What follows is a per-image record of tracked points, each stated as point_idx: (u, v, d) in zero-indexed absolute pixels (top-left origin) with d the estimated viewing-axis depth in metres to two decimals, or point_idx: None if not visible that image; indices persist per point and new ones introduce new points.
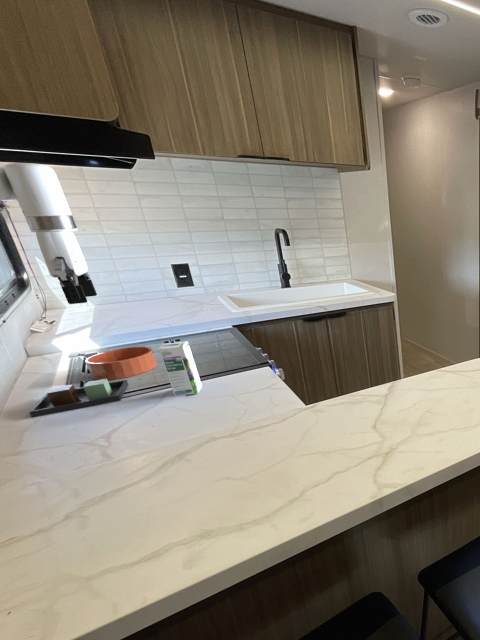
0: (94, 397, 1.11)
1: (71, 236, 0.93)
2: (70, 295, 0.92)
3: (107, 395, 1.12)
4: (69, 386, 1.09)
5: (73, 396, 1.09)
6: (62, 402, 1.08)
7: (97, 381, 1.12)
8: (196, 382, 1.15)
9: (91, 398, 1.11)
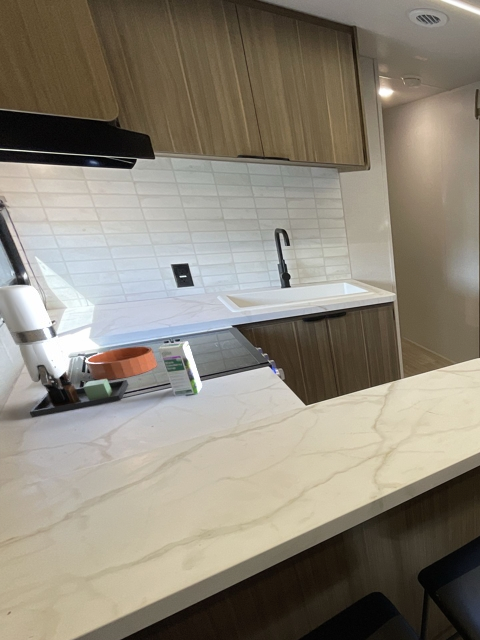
0: (94, 397, 1.11)
1: (52, 343, 1.04)
2: (55, 397, 1.05)
3: (107, 395, 1.12)
4: (69, 386, 1.09)
5: (73, 396, 1.09)
6: None
7: (97, 381, 1.12)
8: (196, 382, 1.15)
9: (91, 398, 1.11)
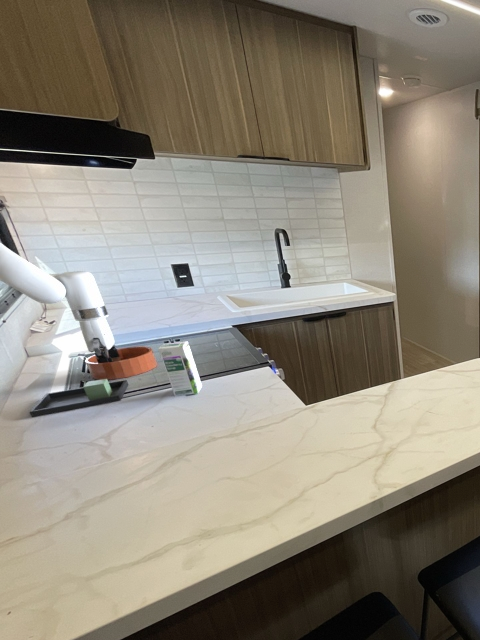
0: (94, 397, 1.11)
1: (104, 320, 1.24)
2: None
3: (107, 395, 1.12)
4: (117, 358, 1.30)
5: None
6: None
7: (97, 381, 1.12)
8: (196, 382, 1.15)
9: (91, 398, 1.11)
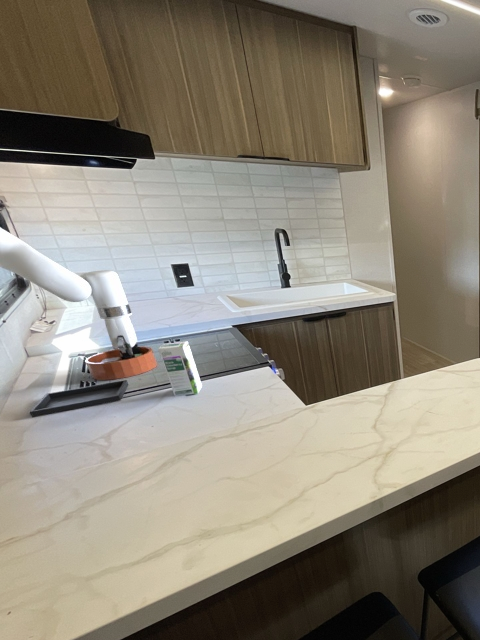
0: None
1: (128, 318, 1.27)
2: None
3: None
4: (117, 358, 1.30)
5: None
6: None
7: None
8: (196, 382, 1.15)
9: None
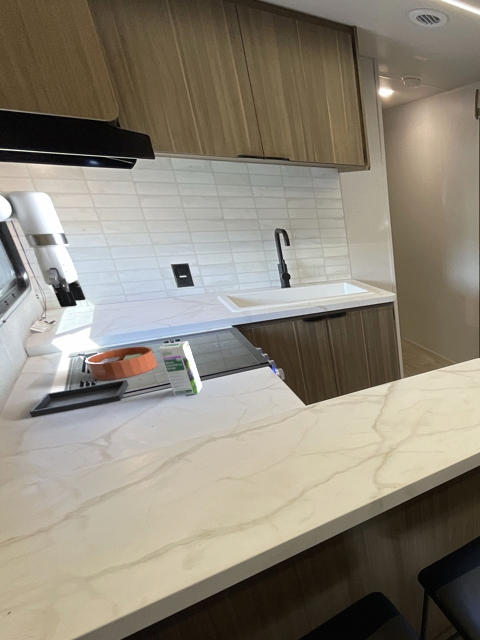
0: None
1: (63, 250, 1.11)
2: (62, 300, 1.10)
3: None
4: (117, 358, 1.30)
5: None
6: None
7: (134, 355, 1.32)
8: (196, 382, 1.15)
9: None
